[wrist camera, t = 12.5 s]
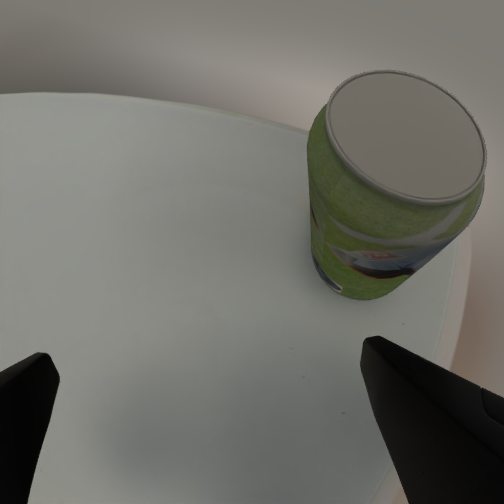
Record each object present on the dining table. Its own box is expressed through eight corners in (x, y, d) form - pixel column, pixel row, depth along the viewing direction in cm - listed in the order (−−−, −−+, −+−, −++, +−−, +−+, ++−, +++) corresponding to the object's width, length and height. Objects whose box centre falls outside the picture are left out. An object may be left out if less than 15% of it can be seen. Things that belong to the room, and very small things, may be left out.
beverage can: (415, 280, 17) (551, 183, 6) (311, 328, 17) (404, 263, 5) (372, 196, 19) (448, 52, 8) (271, 231, 19) (277, 61, 7)
